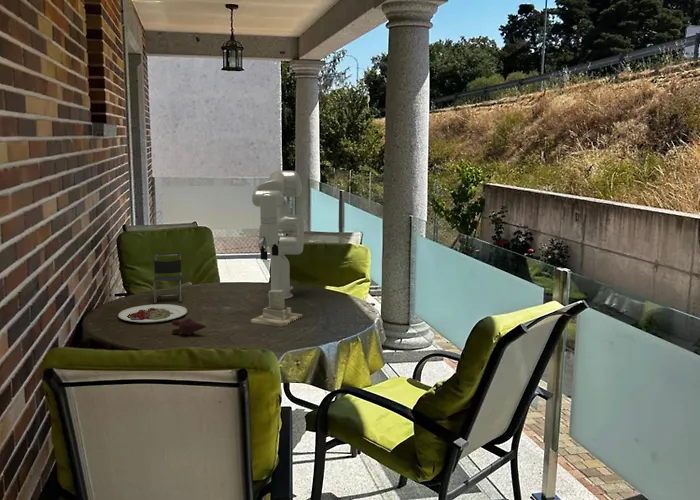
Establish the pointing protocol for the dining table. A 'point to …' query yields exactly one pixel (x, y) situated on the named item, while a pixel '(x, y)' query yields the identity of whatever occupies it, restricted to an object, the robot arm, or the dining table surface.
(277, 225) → the robot arm
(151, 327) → the dining table surface
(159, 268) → the chair
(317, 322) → the dining table surface
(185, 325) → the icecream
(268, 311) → the socket stand
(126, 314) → the plated food
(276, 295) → the skincare box
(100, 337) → the dining table surface
